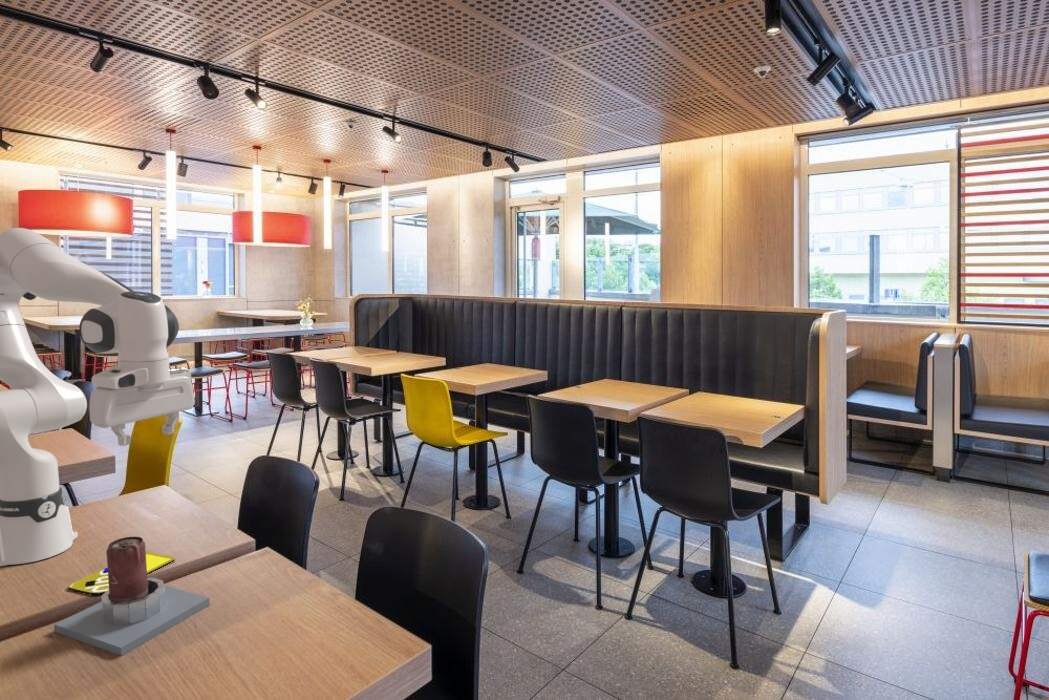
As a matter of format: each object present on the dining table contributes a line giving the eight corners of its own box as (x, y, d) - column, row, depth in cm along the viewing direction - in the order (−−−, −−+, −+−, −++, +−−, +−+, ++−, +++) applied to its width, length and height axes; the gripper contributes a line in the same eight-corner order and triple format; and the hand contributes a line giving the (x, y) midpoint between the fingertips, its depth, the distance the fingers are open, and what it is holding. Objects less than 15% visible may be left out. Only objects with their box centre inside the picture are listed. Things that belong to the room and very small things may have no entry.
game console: (141, 555, 145) (140, 549, 145) (178, 562, 142) (178, 555, 142) (64, 592, 128) (64, 585, 128) (105, 600, 125) (105, 594, 125)
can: (132, 623, 114) (127, 550, 112) (103, 618, 115) (97, 547, 113) (157, 605, 120) (153, 537, 118) (130, 601, 121) (125, 533, 119)
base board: (54, 631, 113) (54, 624, 113) (146, 586, 130) (146, 579, 130) (121, 655, 107) (121, 647, 106) (209, 604, 123) (209, 597, 123)
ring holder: (90, 618, 115) (89, 597, 115) (141, 592, 124) (140, 574, 124) (127, 630, 112) (126, 609, 111) (176, 603, 121) (175, 584, 120)
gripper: (179, 364, 135) (181, 425, 137) (82, 378, 117) (86, 449, 119) (200, 367, 133) (202, 429, 135) (104, 382, 114) (108, 454, 116)
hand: (147, 439), depth 126 cm, fingers open, 8 cm apart
